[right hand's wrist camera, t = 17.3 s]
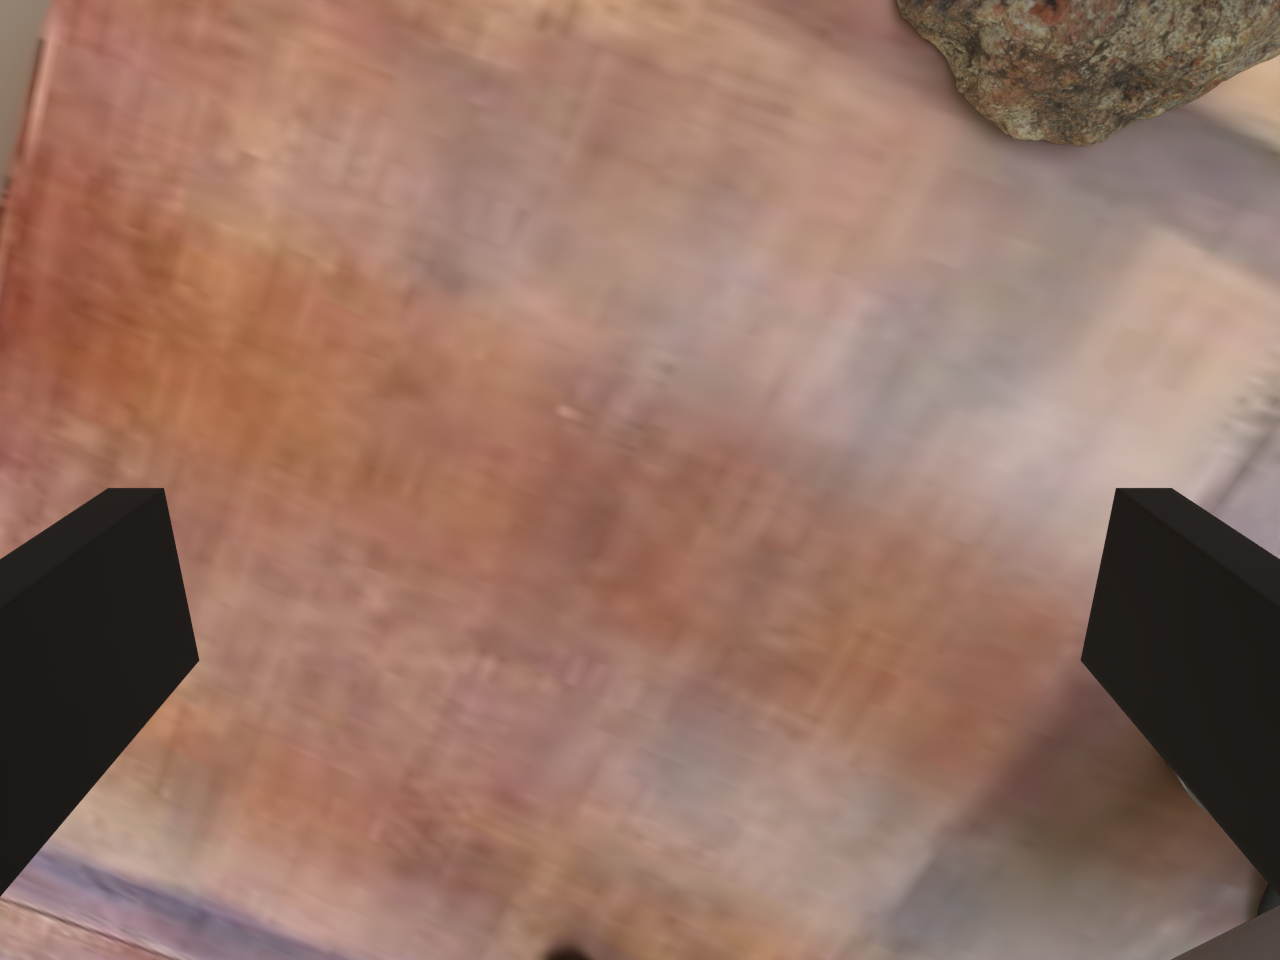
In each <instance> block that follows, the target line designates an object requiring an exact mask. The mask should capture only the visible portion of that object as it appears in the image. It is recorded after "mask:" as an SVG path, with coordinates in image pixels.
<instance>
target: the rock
mask: <svg viewBox="0 0 1280 960" xmlns="http://www.w3.org/2000/svg"><path fill="white" fill-rule="evenodd" d="M896 1H897V4H898V7H899V11H900V14H901V17H902V18H904V19H905V20H907V21H908V22H909V23H910V24H911V25H912V26H913V27H914V28H915V29H916V30H917V32H918V33H919V34H920V36H921V37H923V38H925V39H927V40H928V41H930V42H931V43H933V44H934V45H935V46H936V47H937V48H938V49H939V50H940V51H941V52H942V53H943V55H944V56H945V57H946V59H947V62H948V64H949V66H950V69H951V71H952V72H953V74H954V75H955V77H956V87H957V90H958V92H960V93H962V94H963V95H964V96H965V98H966V99H967V101H968V102H969V103H971V104H972V105H973V106H974V107H975V109H976V110H978V111H979V112H980V113H981V114H982V115H983V116H984V117H985V118H986V119H988V120H991V121H992V122H993V123H995V124H996V125H997V126H998V127H999V128H1000V129H1001V130H1002V131H1003V132H1004V133H1006V134H1008V135H1011V136H1012V137H1013V138H1014V139H1020V140H1046V141H1049V142H1051V143H1054V144H1068V143H1072V144H1073V145H1075V146H1083V147H1087V146H1091V145H1093V144H1095V143H1097V142H1102V141H1104V140H1106V139H1107V138H1108V136H1110V135H1113V134H1115V133H1116V132H1118V131H1119V130H1120V129H1122V128H1123V127H1127V126H1128V125H1129V124H1130V123H1132V122H1134V121H1136V120H1141V119H1149V118H1152V117H1155V116H1157V115H1159V114H1161V113H1163V112H1165V111H1169V110H1172V109H1175V108H1177V107H1180V106H1182V105H1185V104H1187V103H1189V102H1191V101H1193V100H1196V99H1198V98H1200V97H1201V96H1203V95H1204V94H1206V93H1207V92H1209V91H1210V90H1212V89H1213V88H1215V87H1216V86H1218V85H1219V84H1220V83H1221V82H1223V81H1225V80H1228V79H1230V78H1231V77H1233V76H1234V75H1236V74H1238V73H1240V72H1242V71H1244V70H1247V69H1249V68H1251V67H1253V66H1255V65H1257V64H1259V63H1262V62H1265V61H1268V60H1270V59H1272V58H1274V57H1276V56H1278V55H1279V54H1280V0H896Z"/></svg>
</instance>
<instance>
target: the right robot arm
mask: <svg viewBox="0 0 1280 960" xmlns="http://www.w3.org/2000/svg"><path fill="white" fill-rule="evenodd" d="M198 661H199V657H198V652H197V647H196V642H195V637H194V632H193V628H192V623H191V618H190V613H189V608H188V603H187V598H186V593H185V589H184V584H183V579H182V574H181V569H180V564H179V559H178V555H177V550H176V545H175V540H174V535H173V530H172V525H171V520H170V516H169V511H168V506H167V501H166V496H165V491H164V488H108V489H106V490H105V491H103V492H102V493H100V494H99V495H97V496H96V497H94V498H93V499H91V500H90V501H88V502H87V503H85V504H84V505H82V506H80V507H79V508H77V509H76V510H74V511H73V512H71V513H70V514H68V515H67V516H65V517H64V518H62V519H61V520H59V521H58V522H56V523H55V524H53V525H52V526H50V527H49V528H47V529H46V530H44V531H43V532H41V533H40V534H38V535H37V536H35V537H33V538H32V539H30V540H29V541H27V542H26V543H24V544H23V545H21V546H20V547H18V548H17V549H15V550H14V551H12V552H11V553H9V554H8V555H6V556H5V557H3V558H2V559H0V896H1V895H2V894H3V893H4V892H5V890H6V889H7V888H8V887H9V886H10V884H11V883H12V882H13V881H14V880H15V878H16V877H17V876H18V875H19V874H20V873H21V871H22V870H23V869H24V868H25V867H26V865H27V864H28V863H29V862H30V861H31V859H32V858H33V857H34V856H35V855H36V854H37V852H38V851H39V850H40V849H41V848H42V846H43V845H44V844H45V843H46V842H47V841H48V839H49V838H50V837H51V836H52V835H53V833H54V832H55V831H56V830H57V829H58V827H59V826H60V825H61V824H62V823H63V822H64V820H65V819H66V818H67V817H68V816H69V814H70V813H71V812H72V811H73V810H74V808H75V807H76V806H77V805H78V804H79V803H80V801H81V800H82V799H83V798H84V797H85V795H86V794H87V793H88V792H89V791H90V789H91V788H92V787H93V786H94V785H95V784H96V782H97V781H98V780H99V779H100V778H101V776H102V775H103V774H104V773H105V772H106V770H107V769H108V768H109V767H110V766H111V765H112V763H113V762H114V761H115V760H116V759H117V757H118V756H119V755H120V754H121V753H122V752H123V750H124V749H125V748H126V747H127V746H128V744H129V743H130V742H131V741H132V740H133V738H134V737H135V736H136V735H137V734H138V733H139V731H140V730H141V729H142V728H143V727H144V725H145V724H146V723H147V722H148V721H149V719H150V718H151V717H152V716H153V715H154V714H155V712H156V711H157V710H158V709H159V708H160V706H161V705H162V704H163V703H164V702H165V700H166V699H167V698H168V697H169V696H170V695H171V693H172V692H173V691H174V690H175V689H176V687H177V686H178V685H179V684H180V683H181V681H182V680H183V679H184V678H185V677H186V676H187V674H188V673H189V672H190V671H191V670H192V668H193V667H194V666H195V665H196V664H197V663H198ZM1081 661H1082V663H1083V664H1084V665H1085V666H1086V667H1087V668H1088V670H1089V671H1090V672H1091V673H1092V674H1093V676H1094V677H1095V678H1096V679H1097V680H1098V681H1099V683H1100V684H1101V685H1102V686H1103V687H1104V689H1105V690H1106V691H1107V692H1108V693H1109V695H1110V696H1111V697H1112V698H1113V699H1114V700H1115V702H1116V703H1117V704H1118V705H1119V706H1120V708H1121V709H1122V710H1123V711H1124V712H1125V714H1126V715H1127V716H1128V717H1129V718H1130V719H1131V721H1132V722H1133V723H1134V724H1135V725H1136V727H1137V728H1138V729H1139V730H1140V731H1141V733H1142V734H1143V735H1144V736H1145V737H1146V738H1147V740H1148V741H1149V742H1150V743H1151V744H1152V746H1153V747H1154V748H1155V749H1156V750H1157V752H1158V753H1159V754H1160V755H1161V756H1162V757H1163V759H1164V760H1165V761H1166V763H1167V765H1168V767H1169V769H1170V771H1171V772H1172V774H1173V775H1174V777H1175V778H1176V780H1177V781H1178V782H1179V783H1180V784H1181V786H1182V787H1183V788H1184V789H1185V790H1186V792H1187V793H1188V794H1189V795H1190V796H1191V797H1192V799H1193V800H1194V801H1195V802H1196V803H1197V804H1198V805H1199V806H1200V807H1202V808H1203V809H1204V810H1205V811H1206V812H1208V813H1209V814H1210V815H1211V816H1212V817H1213V818H1214V819H1215V820H1216V822H1217V823H1218V824H1219V825H1220V826H1221V827H1222V829H1223V830H1224V831H1225V832H1226V833H1227V835H1228V836H1229V837H1230V838H1231V839H1232V841H1233V842H1234V843H1235V844H1236V845H1237V846H1238V848H1239V849H1240V850H1241V851H1242V852H1243V854H1244V855H1245V856H1246V857H1247V858H1248V859H1249V861H1250V862H1251V863H1252V864H1253V865H1254V867H1255V868H1256V869H1257V870H1258V871H1259V873H1260V874H1261V875H1262V876H1263V877H1264V878H1265V880H1266V881H1267V882H1268V885H1267V888H1266V890H1265V893H1264V895H1263V898H1262V900H1261V903H1260V906H1259V910H1258V914H1257V917H1255V918H1253V919H1251V920H1249V921H1247V922H1245V923H1243V924H1241V925H1239V926H1237V927H1235V928H1233V929H1231V930H1229V931H1227V932H1225V933H1223V934H1221V935H1219V936H1217V937H1215V938H1213V939H1211V940H1209V941H1207V942H1205V943H1203V944H1201V945H1199V946H1197V947H1195V948H1193V949H1191V950H1189V951H1187V952H1185V953H1183V954H1181V955H1179V956H1177V957H1175V958H1173V959H1171V960H1280V559H1278V558H1277V557H1275V556H1274V555H1272V554H1271V553H1269V552H1268V551H1266V550H1265V549H1263V548H1262V547H1260V546H1259V545H1257V544H1256V543H1254V542H1253V541H1251V540H1250V539H1248V538H1247V537H1245V536H1243V535H1242V534H1240V533H1239V532H1237V531H1236V530H1234V529H1233V528H1231V527H1230V526H1228V525H1227V524H1225V523H1224V522H1222V521H1221V520H1219V519H1218V518H1216V517H1215V516H1213V515H1212V514H1210V513H1209V512H1207V511H1206V510H1204V509H1203V508H1201V507H1200V506H1198V505H1196V504H1195V503H1193V502H1192V501H1190V500H1189V499H1187V498H1186V497H1184V496H1183V495H1181V494H1180V493H1178V492H1177V491H1175V490H1174V489H1172V488H1116V491H1115V496H1114V501H1113V506H1112V511H1111V516H1110V520H1109V525H1108V530H1107V535H1106V540H1105V545H1104V550H1103V555H1102V559H1101V564H1100V569H1099V574H1098V579H1097V584H1096V589H1095V593H1094V598H1093V603H1092V608H1091V613H1090V618H1089V623H1088V628H1087V632H1086V637H1085V642H1084V647H1083V652H1082V657H1081Z"/></svg>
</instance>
